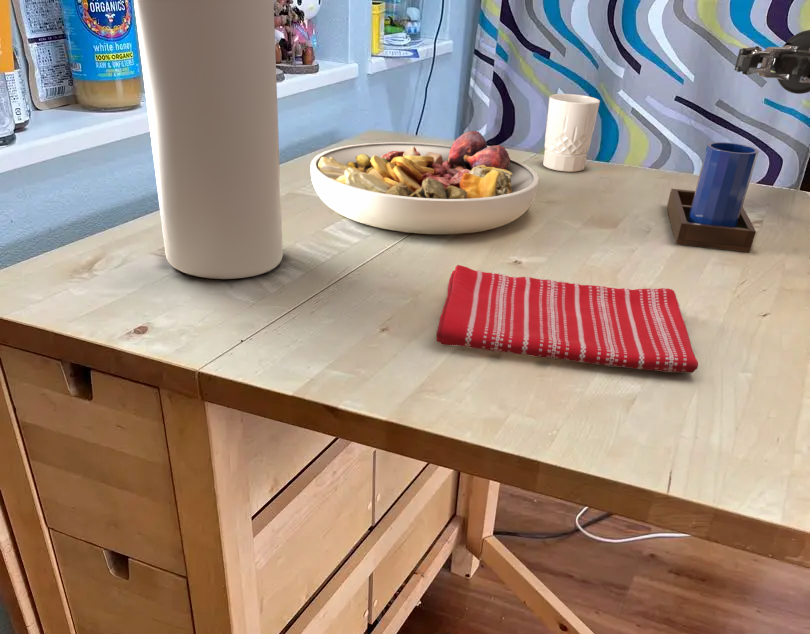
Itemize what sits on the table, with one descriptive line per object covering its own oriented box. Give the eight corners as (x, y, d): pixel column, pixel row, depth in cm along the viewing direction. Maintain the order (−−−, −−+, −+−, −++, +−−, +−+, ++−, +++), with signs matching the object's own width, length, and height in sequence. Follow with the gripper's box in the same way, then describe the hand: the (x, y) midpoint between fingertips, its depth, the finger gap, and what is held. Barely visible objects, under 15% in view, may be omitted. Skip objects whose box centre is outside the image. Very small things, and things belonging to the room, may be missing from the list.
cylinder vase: (158, 246, 91) (123, -23, 76) (267, 239, 95) (254, -18, 80) (177, 286, 82) (141, -11, 67) (296, 276, 86) (288, -6, 71)
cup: (730, 227, 107) (754, 145, 101) (736, 240, 102) (761, 155, 96) (684, 221, 108) (705, 140, 102) (687, 235, 103) (710, 150, 97)
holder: (731, 214, 115) (737, 195, 113) (749, 252, 101) (756, 231, 100) (666, 207, 116) (671, 188, 114) (676, 244, 102) (681, 223, 101)
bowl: (467, 260, 93) (475, 188, 88) (264, 208, 105) (261, 142, 100) (567, 205, 114) (578, 145, 109) (389, 167, 125) (391, 111, 120)
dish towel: (451, 285, 87) (454, 260, 85) (675, 310, 84) (682, 285, 83) (429, 350, 73) (431, 322, 71) (695, 382, 71) (703, 354, 69)
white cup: (553, 158, 136) (563, 92, 130) (595, 167, 133) (608, 99, 127) (530, 166, 131) (540, 97, 125) (574, 175, 128) (586, 105, 122)
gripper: (769, 23, 113) (733, 28, 102) (878, 34, 107) (852, 40, 96) (753, 83, 118) (716, 94, 107) (856, 97, 111) (828, 111, 100)
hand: (780, 69), depth 101 cm, fingers open, 8 cm apart
